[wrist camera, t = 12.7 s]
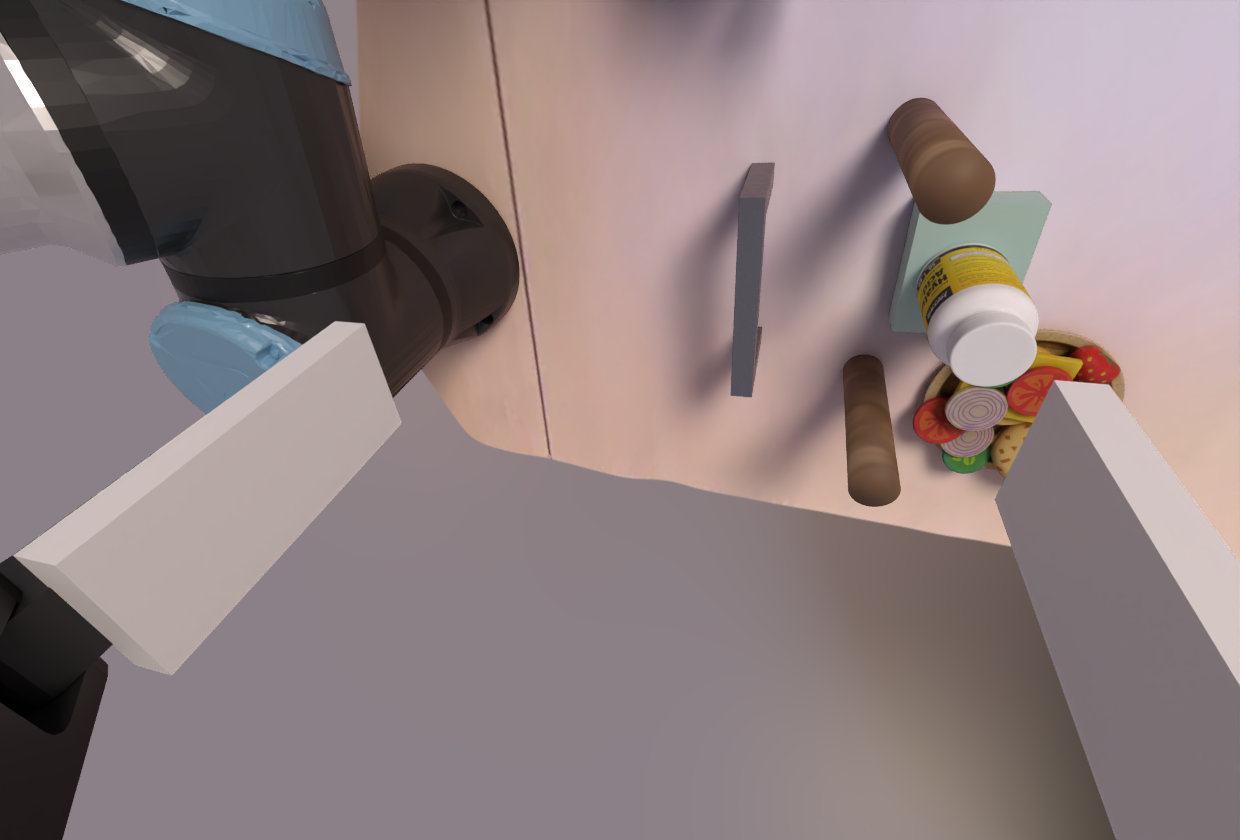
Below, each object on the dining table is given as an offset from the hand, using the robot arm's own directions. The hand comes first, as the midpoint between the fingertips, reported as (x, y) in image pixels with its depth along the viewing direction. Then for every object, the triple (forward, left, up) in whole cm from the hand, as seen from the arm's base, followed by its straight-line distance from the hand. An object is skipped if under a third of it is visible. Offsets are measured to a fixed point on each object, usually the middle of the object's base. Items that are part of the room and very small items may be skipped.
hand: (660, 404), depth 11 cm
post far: (+9, -19, -33) cm, 39 cm away
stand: (+13, -10, -33) cm, 37 cm away
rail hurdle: (0, -10, -33) cm, 35 cm away
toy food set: (+20, -21, -34) cm, 44 cm away
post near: (+9, -1, -33) cm, 34 cm away
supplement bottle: (+13, -10, -31) cm, 35 cm away
